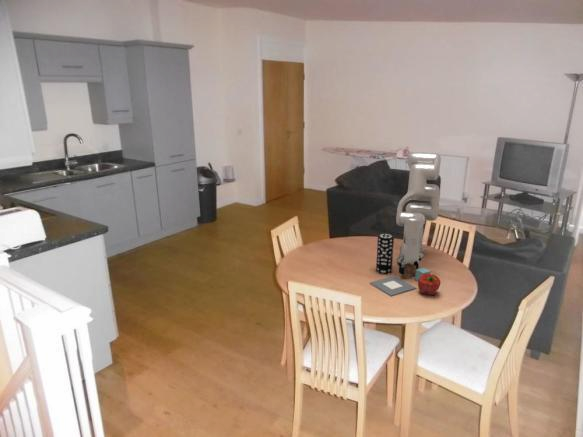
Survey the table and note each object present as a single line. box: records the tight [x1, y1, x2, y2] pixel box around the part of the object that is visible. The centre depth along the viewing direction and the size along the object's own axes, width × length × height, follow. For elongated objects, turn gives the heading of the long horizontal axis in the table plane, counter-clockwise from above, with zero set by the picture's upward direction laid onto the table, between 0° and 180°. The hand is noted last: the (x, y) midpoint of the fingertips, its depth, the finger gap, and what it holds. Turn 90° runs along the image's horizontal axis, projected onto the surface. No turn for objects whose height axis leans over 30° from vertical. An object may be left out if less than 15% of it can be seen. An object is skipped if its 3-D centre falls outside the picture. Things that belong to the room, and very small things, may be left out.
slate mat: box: [369, 275, 417, 297], centre depth 210 cm, size 16×16×1 cm
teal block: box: [414, 267, 432, 282], centre depth 215 cm, size 5×5×6 cm
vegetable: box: [417, 273, 442, 296], centre depth 201 cm, size 11×10×10 cm
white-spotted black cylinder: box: [375, 233, 395, 275], centre depth 225 cm, size 8×8×20 cm
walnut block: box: [400, 263, 416, 280], centre depth 221 cm, size 5×5×6 cm
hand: (408, 271), depth 220 cm, fingers open, 9 cm apart
